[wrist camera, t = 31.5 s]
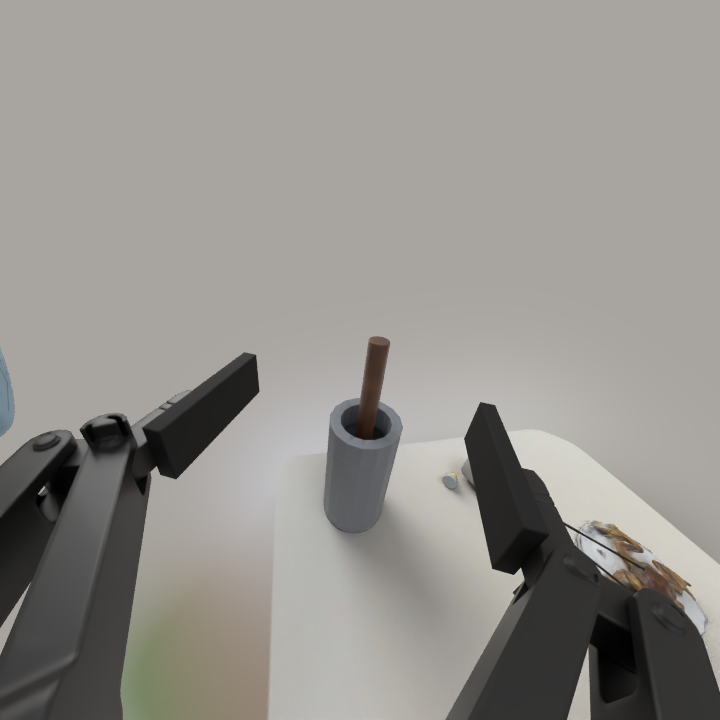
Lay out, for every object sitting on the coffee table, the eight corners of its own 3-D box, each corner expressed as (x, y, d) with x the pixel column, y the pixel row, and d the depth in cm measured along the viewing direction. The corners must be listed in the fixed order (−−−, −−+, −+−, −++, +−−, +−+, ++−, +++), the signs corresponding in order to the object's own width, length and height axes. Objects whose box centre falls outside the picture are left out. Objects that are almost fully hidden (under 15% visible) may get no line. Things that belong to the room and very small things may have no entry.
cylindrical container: (322, 533, 32) (329, 448, 24) (325, 476, 39) (330, 396, 31) (385, 532, 33) (410, 449, 25) (377, 476, 40) (394, 399, 32)
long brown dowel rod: (342, 510, 34) (364, 347, 22) (341, 487, 36) (361, 332, 25) (366, 510, 34) (400, 349, 22) (363, 487, 37) (393, 334, 25)
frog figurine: (732, 689, 24) (768, 678, 22) (577, 587, 30) (596, 572, 28) (689, 574, 32) (712, 559, 30) (575, 512, 38) (589, 496, 36)
